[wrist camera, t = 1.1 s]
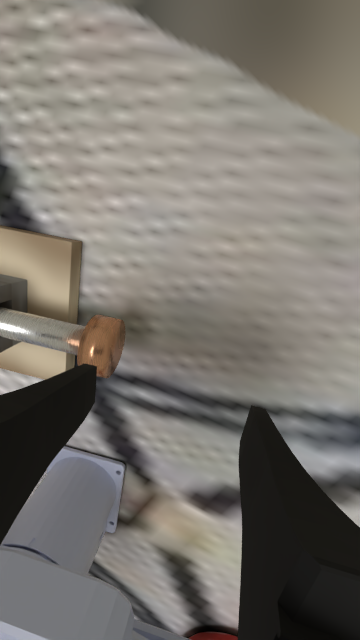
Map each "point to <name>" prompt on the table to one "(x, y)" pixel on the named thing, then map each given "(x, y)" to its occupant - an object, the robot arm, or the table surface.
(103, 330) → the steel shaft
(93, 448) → the table surface
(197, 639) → the plant pot
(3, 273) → the bearing board
